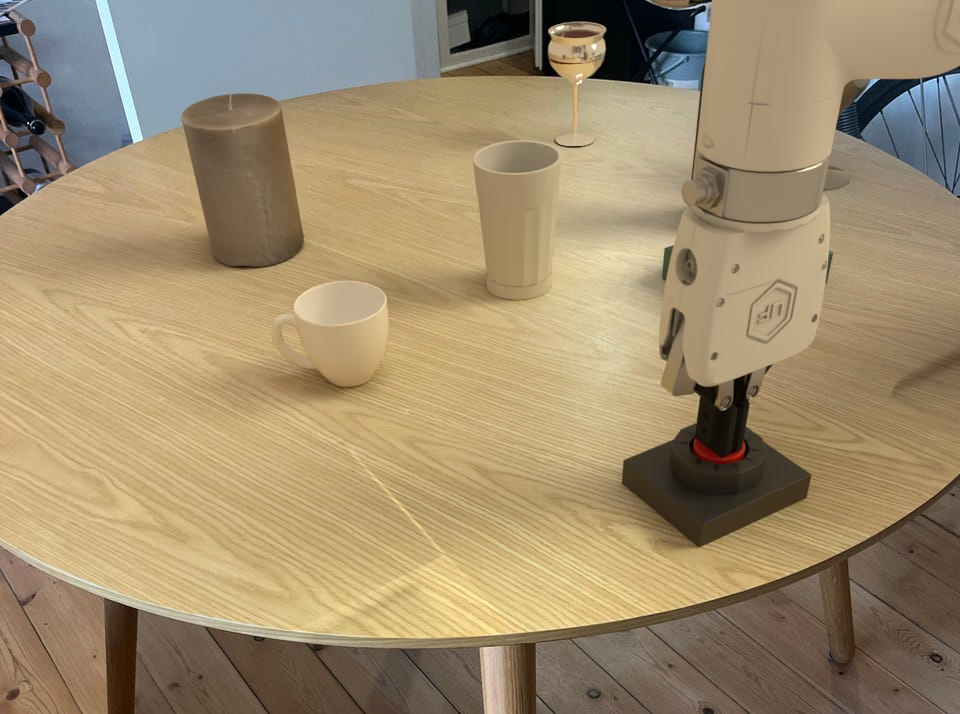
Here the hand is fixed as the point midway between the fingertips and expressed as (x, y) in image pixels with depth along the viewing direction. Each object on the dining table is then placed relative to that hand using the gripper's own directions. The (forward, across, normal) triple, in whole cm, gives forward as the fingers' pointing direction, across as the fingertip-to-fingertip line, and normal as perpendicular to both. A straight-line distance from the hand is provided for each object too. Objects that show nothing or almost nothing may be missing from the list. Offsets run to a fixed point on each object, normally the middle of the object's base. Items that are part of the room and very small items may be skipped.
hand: (717, 444), depth 72 cm
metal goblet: (+4, +47, +38) cm, 61 cm away
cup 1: (+4, -16, +31) cm, 35 cm away
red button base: (+4, 0, 0) cm, 4 cm away
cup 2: (+4, +6, +36) cm, 37 cm away
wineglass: (+4, +32, +64) cm, 72 cm away
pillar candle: (+4, -12, +59) cm, 60 cm away
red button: (+2, 0, 0) cm, 2 cm away
